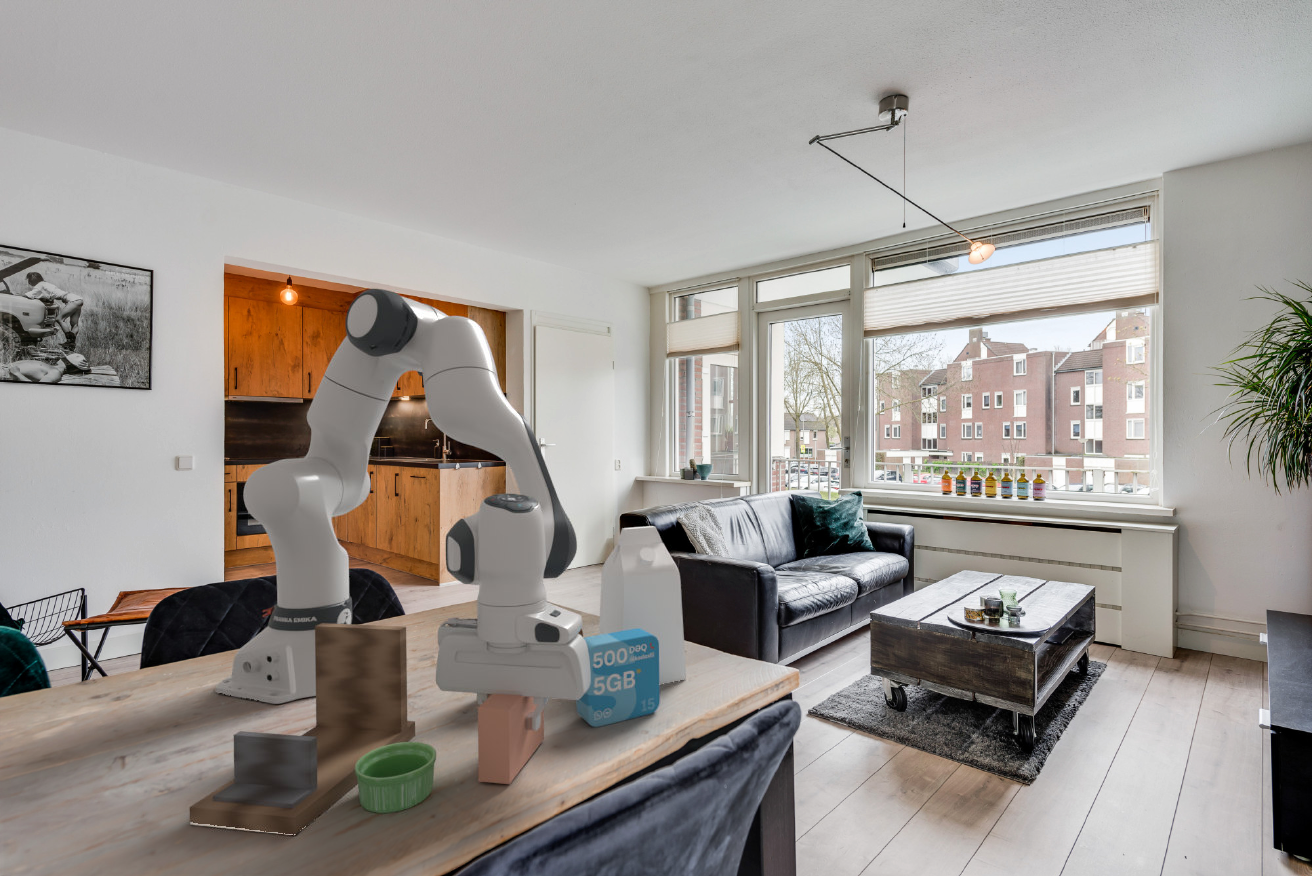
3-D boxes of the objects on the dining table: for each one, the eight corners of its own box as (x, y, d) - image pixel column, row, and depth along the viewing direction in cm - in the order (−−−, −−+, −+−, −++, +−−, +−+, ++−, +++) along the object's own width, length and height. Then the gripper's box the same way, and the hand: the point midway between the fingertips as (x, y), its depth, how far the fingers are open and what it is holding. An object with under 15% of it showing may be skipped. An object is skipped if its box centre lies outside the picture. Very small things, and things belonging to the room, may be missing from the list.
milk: (657, 659, 125) (655, 521, 125) (686, 680, 114) (684, 529, 114) (597, 670, 120) (595, 526, 120) (621, 692, 109) (619, 534, 109)
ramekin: (446, 775, 83) (445, 740, 83) (422, 816, 74) (422, 777, 74) (373, 777, 83) (373, 742, 83) (341, 818, 74) (341, 779, 74)
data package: (588, 730, 95) (587, 646, 95) (575, 718, 99) (574, 638, 99) (660, 712, 101) (659, 633, 101) (646, 702, 105) (645, 626, 105)
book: (478, 781, 81) (478, 707, 81) (516, 736, 93) (516, 672, 92) (509, 784, 80) (509, 709, 80) (543, 739, 92) (543, 674, 92)
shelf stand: (189, 825, 73) (187, 679, 73) (332, 729, 96) (331, 619, 96) (295, 836, 71) (293, 686, 70) (415, 735, 94) (413, 622, 94)
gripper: (425, 623, 85) (426, 731, 85) (580, 631, 81) (580, 743, 81) (449, 610, 91) (450, 711, 91) (593, 617, 87) (594, 721, 88)
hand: (513, 726), depth 86 cm, fingers closed on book, 4 cm apart
